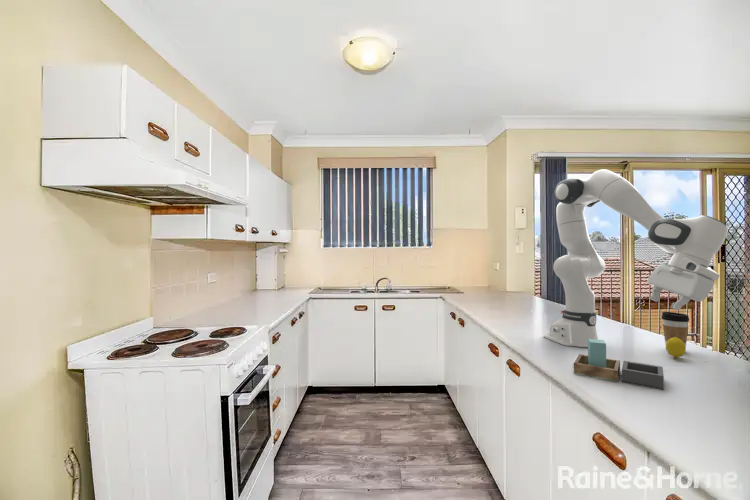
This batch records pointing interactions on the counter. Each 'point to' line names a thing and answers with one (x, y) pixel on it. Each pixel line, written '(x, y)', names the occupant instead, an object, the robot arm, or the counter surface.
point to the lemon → (675, 347)
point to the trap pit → (643, 374)
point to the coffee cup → (675, 326)
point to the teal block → (597, 353)
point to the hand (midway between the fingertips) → (663, 304)
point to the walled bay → (597, 369)
